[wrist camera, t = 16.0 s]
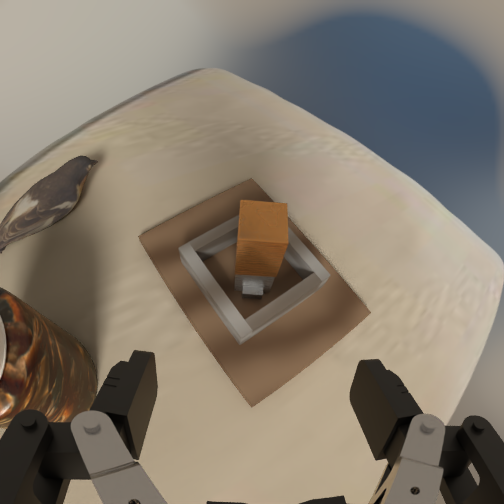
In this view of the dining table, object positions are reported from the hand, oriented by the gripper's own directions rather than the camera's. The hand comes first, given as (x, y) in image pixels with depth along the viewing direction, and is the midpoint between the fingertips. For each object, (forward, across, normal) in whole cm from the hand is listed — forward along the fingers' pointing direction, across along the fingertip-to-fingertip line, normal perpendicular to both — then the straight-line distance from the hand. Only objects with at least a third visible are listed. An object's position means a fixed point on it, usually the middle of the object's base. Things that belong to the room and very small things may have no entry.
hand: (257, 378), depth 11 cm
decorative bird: (+26, +27, +1) cm, 38 cm away
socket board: (+22, -1, +4) cm, 23 cm away
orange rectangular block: (+22, -1, +4) cm, 22 cm away
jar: (+13, +20, +14) cm, 28 cm away
